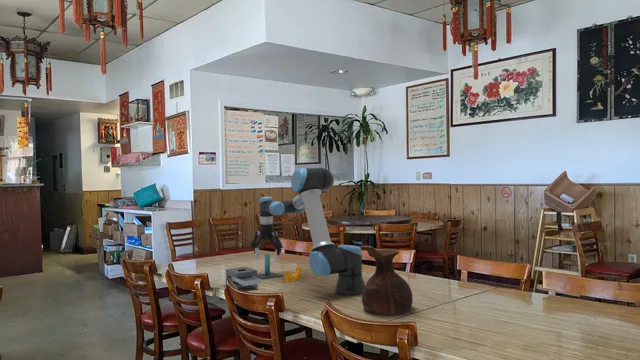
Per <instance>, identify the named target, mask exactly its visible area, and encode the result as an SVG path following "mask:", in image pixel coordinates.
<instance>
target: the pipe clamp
mask: <svg viewBox="0 0 640 360" xmlns="http://www.w3.org/2000/svg"><path fill="white" fill-rule="evenodd" d="M283 271H284V274H283V275H284V276H283V277H284V283H288V284H289V283H292V282H295V281H297V280H298V279H299V280H302V279H301V278H303V277H302V267H300V266H296V267H295V271H294V272H291V270H290V269H285V270H283ZM299 280H298V281H299Z"/></svg>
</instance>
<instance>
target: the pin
mask: <svg viewBox="0 0 640 360" xmlns="http://www.w3.org/2000/svg"><path fill="white" fill-rule="evenodd" d="M270 272H271V254H269V253H266V254H264V273H265V276H269V275H270Z"/></svg>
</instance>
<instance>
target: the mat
mask: <svg viewBox="0 0 640 360" xmlns="http://www.w3.org/2000/svg"><path fill="white" fill-rule="evenodd" d="M255 277H257V278H259V279H260V280H261V279H262V280H267V279H273V278H274V279H275V278H280V277H282V275H281V274H278V273H275V272H272V271H270V275H269V276H265V272H264V273H257V275H256V276H255Z"/></svg>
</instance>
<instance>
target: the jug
mask: <svg viewBox="0 0 640 360" xmlns="http://www.w3.org/2000/svg"><path fill="white" fill-rule="evenodd" d="M359 247H360V248H361V251H363V252H364V251H367V253H368V256H369V257H371V258H373V259H374V260H375V266H376V268H375V271H374V273H373V274H372V275H371V276H370V278H368V280H367V281H366V282H365V287H364V290H363V294H362V295H361V304H362V306H363V309H364V310H365V311H367V312H369V313H372V314H376V315H381V316H397V315H402V314H405V313H407V312H408V311H409V310H410V309H412V305H413V293H412V289H411V286H410V285H409V283H408V282H407V281H406V279H404V278H403V277H402V276H401V275H400V274H399V273H397V272H396V271H395V268H394V265H393V262H394V259H395V257H396V256H397V255H399V253H400V251H399V250H398V249H387V248H386V249H385V248H381V249H376V248H375V247H373V246H371V245H361V246H359Z"/></svg>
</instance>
